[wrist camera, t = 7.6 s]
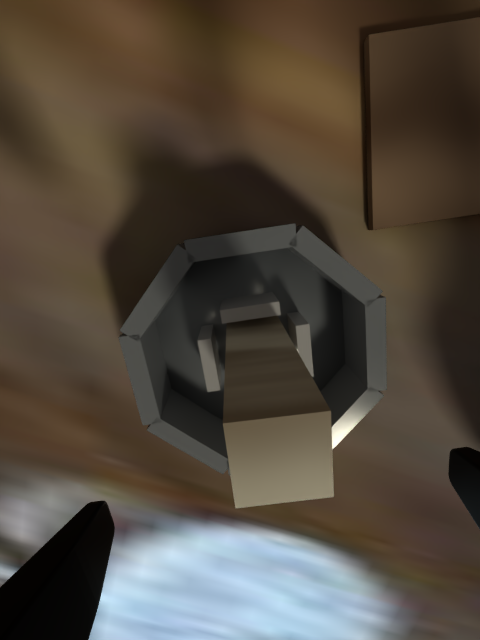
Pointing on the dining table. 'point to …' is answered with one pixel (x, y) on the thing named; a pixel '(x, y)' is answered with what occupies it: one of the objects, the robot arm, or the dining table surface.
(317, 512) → the dining table surface
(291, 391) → the square wooden post
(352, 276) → the bowl
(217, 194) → the dining table surface
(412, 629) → the dining table surface
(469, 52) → the coaster
